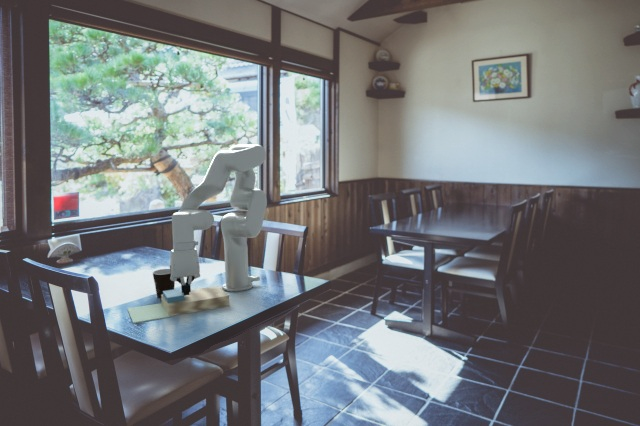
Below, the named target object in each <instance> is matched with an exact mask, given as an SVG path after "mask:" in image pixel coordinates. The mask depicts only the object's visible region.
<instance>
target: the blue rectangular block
mask: <svg viewBox="0 0 640 426" xmlns="http://www.w3.org/2000/svg"><path fill="white" fill-rule="evenodd" d="M163 297H164V298H165V300H166V301H167V303H172V302H179V301H185V295H184V294H183V293H182V289H180V288H174V290H167V291H163Z"/></svg>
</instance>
